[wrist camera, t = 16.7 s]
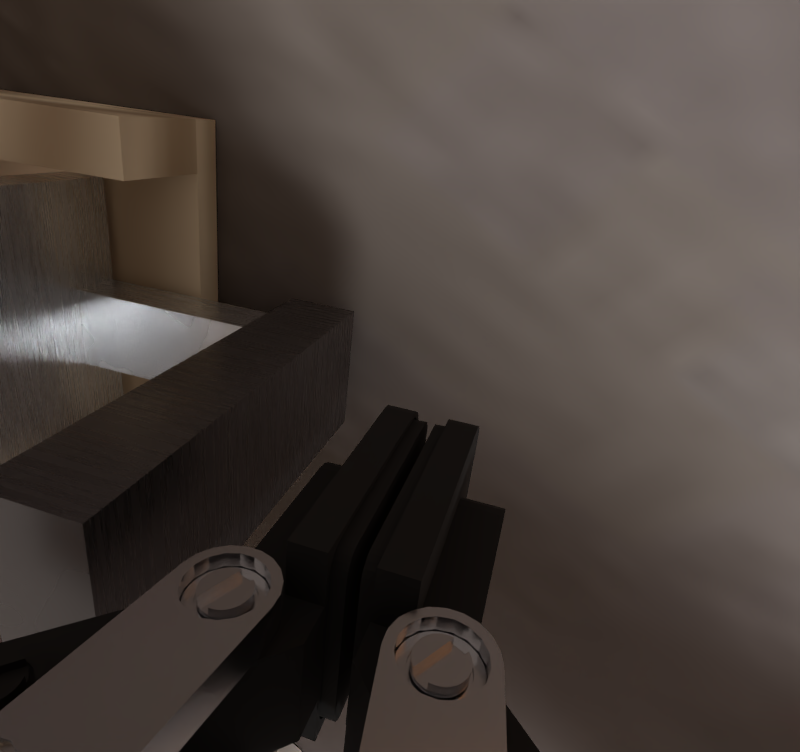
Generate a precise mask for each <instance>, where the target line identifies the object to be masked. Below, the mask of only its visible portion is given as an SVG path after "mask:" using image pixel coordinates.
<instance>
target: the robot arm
mask: <svg viewBox="0 0 800 752" xmlns="http://www.w3.org/2000/svg"><path fill="white" fill-rule="evenodd" d="M478 433H479V426H475V425H471V424H467V423H462V422H458V421H454V420H448V422H447V424H446V426H440V425H436V424H435V426H434V428H433V430H432V432H431V433H430V435H429V437H428V439H427V441H426V434H427V422H424V421H419V420H418V412H416V411H411V410H407V409H403V408H398V407H394V406H390V405H388V406H387V407H386V408H385V409H384V410H383V412H382V413H381V414H380V416H379V417H378V418H377V420H376V421H375V422H374V424H373V425H372V426H371V428H370V429H369V431H368V432H367V433H366V435H365V436H364V437H363V439H362V440H361V441H360V443H359V444H358V445H357V447H356V448H355V449H354V451H353V452H352V453H351V455H350V456H349V458H348V459H347V460H346V462H345V463H344V464H343V466H341V465H337V464H333V463H329V462H328V463H325V464H324V465H322V466H321V467H320V469H319V470H318V471H317V472H316V474H315V475H314V476H313V477H312V479H311V480H310V481H309V482H308V483H307V485H306V486H305V487H304V488H303V490H302V491H301V492H300V493H299V495H298V496H297V497H296V498H295V500H294V501H293V502H292V503H291V505H290V506H289V507H288V508H287V510H286V511H285V512H284V513H283V515H282V516H281V517H280V518H279V520H278V521H277V522H276V523H275V525H274V526H273V527H272V528H271V529H270V531H269V532H268V533H267V534H266V536H265V537H264V538H263V539H262V541H261V542H260V543H259V544H258V546H257V547H256V548H255V549H254V548H251V547H248V546H235V545H228V546H221V547H214V548H211V549H208V550H205V551H202V552H200V553H197V554H195V555H194V556H192V557H190V558H189V559H187V560H186V561H184V562H182V563H181V564H180V565H179V566H178V567H176V568H175V569H174V570H173V571H171V572H170V573H169V574H168V575H166V576H165V577H164V578H163V579H162V580H160V581H159V582H158V583H157V584H155V585H154V586H153V587H152V588H150V589H149V590H148V591H147V592H146V593H144V594H143V595H142V596H141V597H139V598H138V599H137V600H136V601H134V602H133V603H132V604H131V605H130V606H128V607H127V608H126V609H122V610H118V611H115V612H111V613H107V614H104V615H100V616H96V617H93V618H89V619H85V620H82V621H78V622H74V623H71V624H67V625H63V626H60V627H56V628H52V629H49V630H45V631H42V632H38V633H34V634H31V635H27V636H23V637H20V638H16V639H12V640H9V641H5V642H1V643H0V752H277V750H278V749H281V748H283V747H285V746H288V745H290V744H292V743H295V742H297V741H299V739H300V737H301V736H302V737H305V738H308V739H310V740H313V741H315V740H316V738H317V735H318V733H319V731H320V729H321V726H322V724H323V722H324V720H325V718H327V719H329V720H332V721H335V722H336V721H337V719H338V718H339V716H340V714H341V712H342V709H343V707H344V705H345V702H346V700H347V698H348V695H349V698H348V707H347V717H346V734H345V743H344V752H540V751H539V750H538V748H537V747H536V746H535V744H534V743H533V741H532V740H531V739H530V737H529V736H528V734H527V733H526V732H525V730H524V729H523V728H522V726H521V725H520V723H519V722H518V721H517V719H516V718H515V716H514V715H513V714H512V712H511V711H510V709H509V708H508V707H507V705H506V698H505V667H504V662H503V658H502V653H501V650H500V648H499V646H498V645H497V643H496V641H495V639H494V638H493V636H492V635H491V634H490V633H489V632H488V631H487V630H486V629H485V628H484V627H483V626H482V625H481V622H482V617H483V612H484V608H485V603H486V598H487V594H488V589H489V584H490V579H491V575H492V570H493V565H494V561H495V556H496V551H497V546H498V542H499V537H500V532H501V528H502V523H503V518H504V513H505V509H503V508H500V507H496V506H492V505H488V504H485V503H481V502H477V501H473V500H469V499H466V497H467V492H468V487H469V481H470V476H471V471H472V466H473V460H474V455H475V450H476V444H477V439H478ZM425 441H426V443H425Z"/></svg>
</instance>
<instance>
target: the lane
mask: <svg viewBox="0 0 800 752" xmlns="http://www.w3.org/2000/svg"><path fill="white" fill-rule="evenodd" d="M63 171H68V172H74V173H80V174H86V175H91V176H97V177H103V180H104V191H105V201H106V212H107V222H108V233H109V244H110V254H111V265H112V275H113V279H114V280H119V281H123V282H128V283H133V284H137V285H142V286H146V287H151V288H156V289H160V290H165V291H169V292H174V293H179V294H183V295H188V296H193V297H197V298H202V299H206V300H211V301H216V302H218V263H217V200H216V137H215V120H211V119H204V118H197V117H190V116H183V115H176V114H169V113H162V112H155V111H148V110H141V109H134V108H127V107H120V106H113V105H106V104H99V103H92V102H85V101H78V100H71V99H64V98H57V97H50V96H43V95H36V94H29V93H22V92H15V91H8V90H1V89H0V176H6V175H21V174H35V173H49V172H63ZM122 381H123V392H124V394H126V393H128V392H129V391H131V390H133V389H135V388H136V387H138V386H140V385H142V384H144V383H145V382H147V381H149V379H145V378H141V377H137V376H133V375H129V374H125V373H122Z"/></svg>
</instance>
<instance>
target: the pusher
mask: <svg viewBox="0 0 800 752" xmlns="http://www.w3.org/2000/svg"><path fill="white" fill-rule="evenodd" d="M353 317H354V311H349V310H344V309H340V308H335V307H330V306H325V305H321V304H316V303H311V302H306V301H301V300H297V299H291V300H289V301H287V302H286V303H284V304H282V305H280V306H279V307H277V308H275V309H273V310H272V311H270V312H268V313H266V312H262V311H257V310H253V309H248V308H243V307H239V306H234V305H229V304H225V303H220V302H216V301H211V300H206V299H202V298H197V297H193V296H188V295H183V294H179V293H174V292H169V291H165V290H160V289H156V288H151V287H146V286H142V285H137V284H133V283H128V282H123V281H119V280H114V279H113V275H112V265H111V254H110V244H109V233H108V222H107V212H106V201H105V191H104V180H103V177H97V176H91V175H86V174H80V173H74V172H68V171H63V172H49V173H35V174H21V175H6V176H0V635H1V639H2V642H5V641H9V640H12V639H16V638H20V637H23V636H27V635H31V634H34V633H38V632H42V631H45V630H49V629H52V628H56V627H60V626H63V625H67V624H71V623H74V622H78V621H82V620H85V619H89V618H93V617H96V616H100V615H104V614H107V613H111V612H115V611H118V610H122V609H126V608H127V607H128V606H130V605H131V604H132V603H133V602H134V601H136V600H137V599H138V598H139V597H141V596H142V595H143V594H144V593H146V592H147V591H148V590H149V589H150V588H152V587H153V586H154V585H155V584H157V583H158V582H159V581H160V580H162V579H163V578H164V577H165V576H166V575H168V574H169V573H170V572H171V571H173V570H174V569H175V568H176V567H178V566H179V565H180V564H181V563H182V562H184V561H186V560H187V559H189V558H190V557H192V556H194V555H195V554H197V553H200V552H202V551H205V550H208V549H211V548H214V547H221V546H228V545H235V546H242V545H243V544H244V543H245V541H246V540H247V539H248V538H249V536H250V535H251V534H252V533H253V532H254V530H255V529H256V528H257V527H258V526H259V524H260V523H261V522H262V521H263V519H264V518H265V517H266V516H267V515H268V513H269V512H270V511H271V510H272V508H273V507H274V506H275V505H276V504H277V502H278V501H279V500H280V499H281V498H282V496H283V495H284V494H285V493H286V491H287V490H288V489H289V488H290V487H291V485H292V484H293V483H294V482H295V480H296V479H297V478H298V477H299V476H300V474H301V473H302V472H303V471H304V470H305V468H306V467H307V466H308V465H309V463H310V462H311V461H312V460H313V459H314V457H315V456H316V455H317V454H318V452H319V451H320V450H321V449H322V448H323V446H324V445H325V444H326V443H327V442H328V440H329V439H330V438H331V437H332V435H333V434H334V433H335V432H336V431H337V429H338V428H339V427H340V426H341V424H342V423H343V422H344V419H345V407H346V396H347V385H348V373H349V362H350V351H351V339H352V328H353ZM122 373H125V374H129V375H133V376H137V377H141V378H145V379H149V381H147V382H145V383H144V384H142V385H140V386H138V387H136V388H135V389H133V390H131V391H129V392H128V393H126V394H124V392H123V381H122Z"/></svg>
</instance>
